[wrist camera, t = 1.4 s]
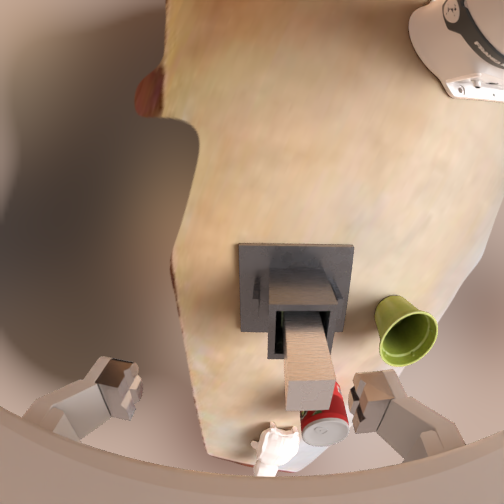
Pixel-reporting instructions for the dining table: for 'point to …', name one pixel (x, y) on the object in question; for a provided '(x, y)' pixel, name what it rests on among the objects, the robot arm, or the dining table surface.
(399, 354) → the plant pot
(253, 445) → the white molar tooth
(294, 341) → the column
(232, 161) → the dining table surface
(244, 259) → the stand
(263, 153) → the dining table surface
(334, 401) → the canned food
